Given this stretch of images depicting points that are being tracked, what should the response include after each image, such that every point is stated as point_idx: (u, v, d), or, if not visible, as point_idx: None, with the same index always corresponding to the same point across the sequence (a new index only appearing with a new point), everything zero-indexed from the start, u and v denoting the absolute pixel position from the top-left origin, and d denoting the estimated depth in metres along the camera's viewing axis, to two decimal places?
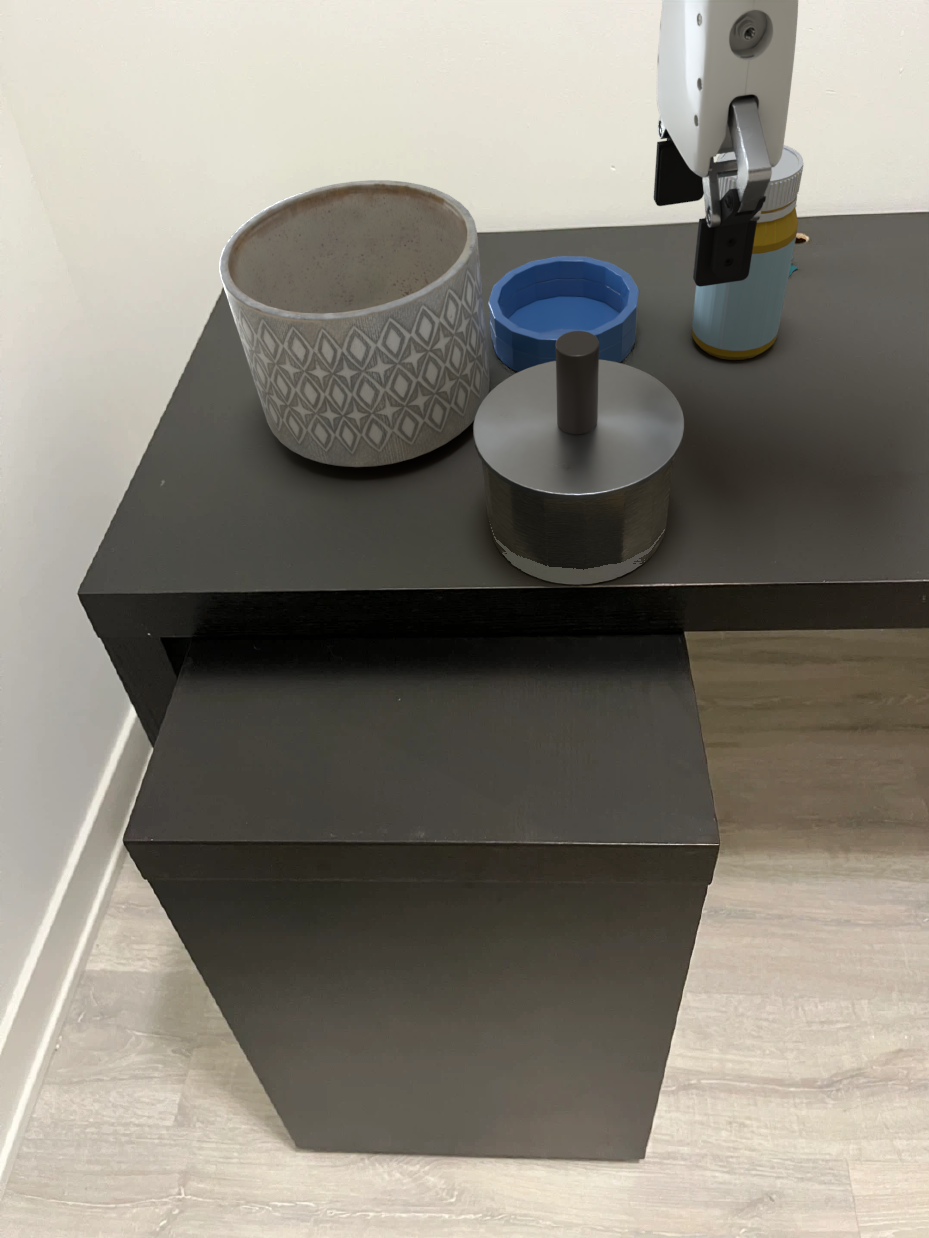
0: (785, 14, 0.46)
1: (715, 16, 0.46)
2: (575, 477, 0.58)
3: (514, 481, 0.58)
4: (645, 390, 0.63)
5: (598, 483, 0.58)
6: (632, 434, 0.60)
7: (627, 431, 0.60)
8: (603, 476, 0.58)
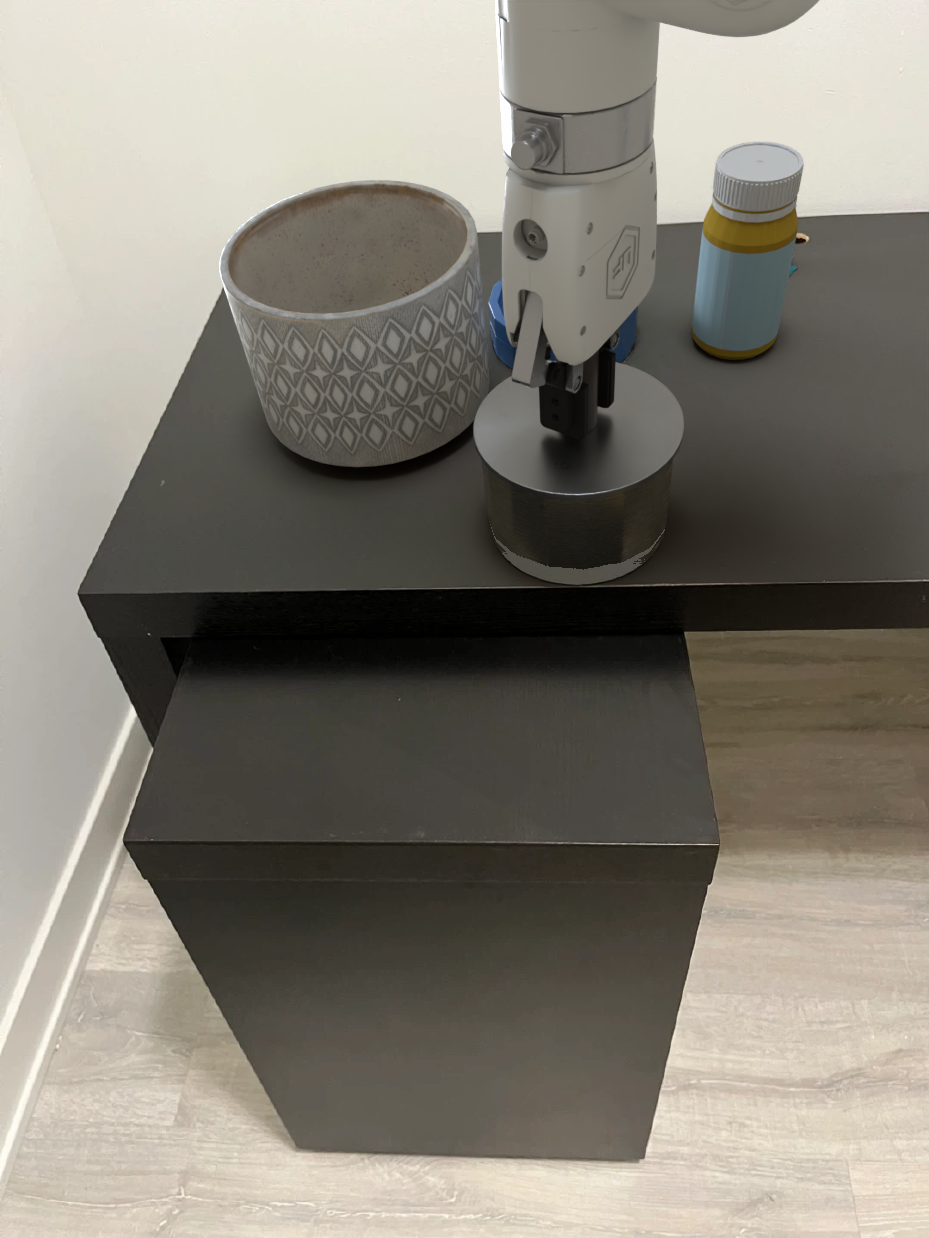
0: (559, 234, 0.46)
1: (505, 211, 0.48)
2: (575, 477, 0.58)
3: (514, 481, 0.58)
4: (645, 390, 0.63)
5: (598, 483, 0.58)
6: (632, 434, 0.60)
7: (627, 431, 0.60)
8: (603, 476, 0.58)
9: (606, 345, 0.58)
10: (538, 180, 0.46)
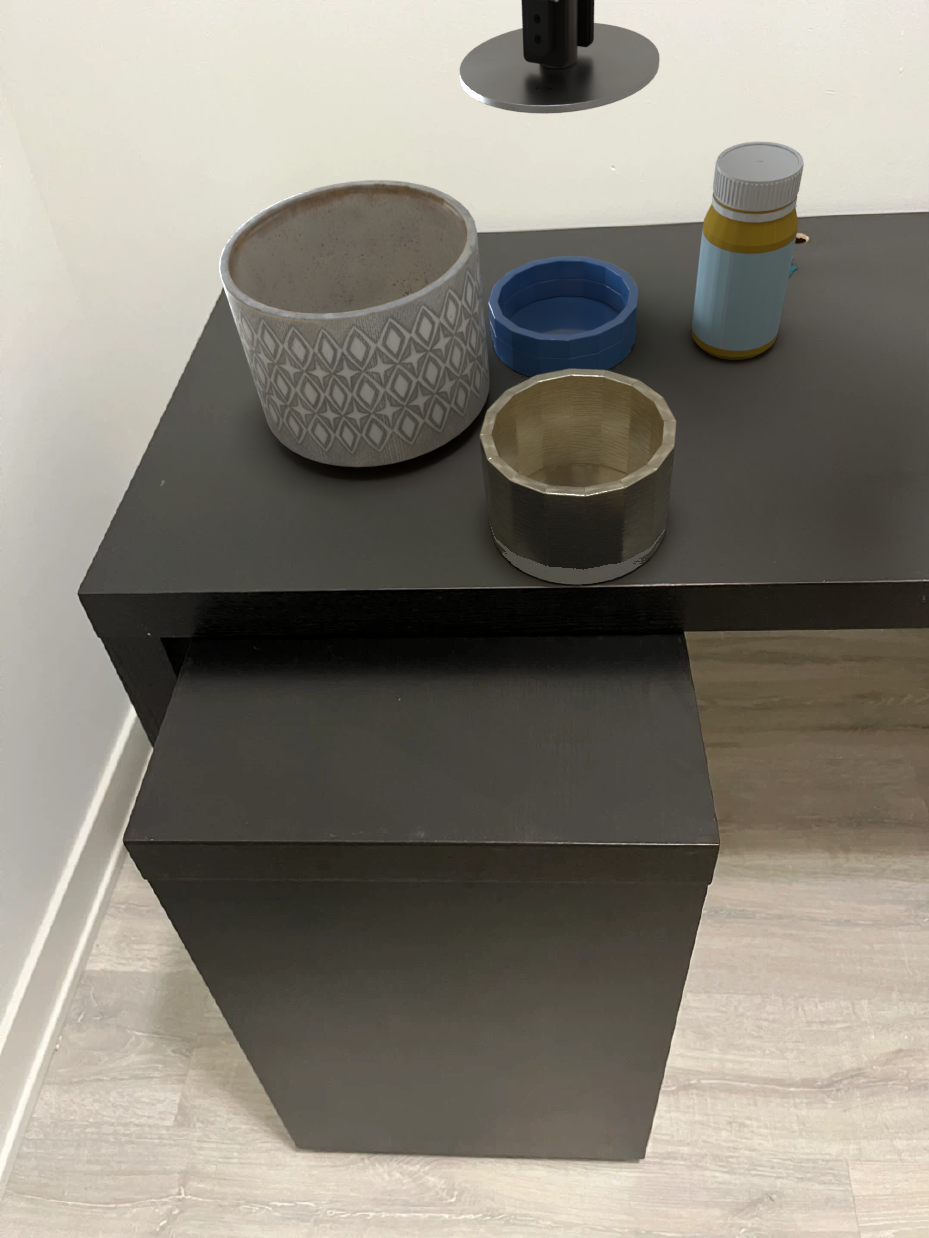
0: None
1: None
2: (556, 95, 0.61)
3: (498, 100, 0.62)
4: (623, 39, 0.66)
5: (577, 97, 0.61)
6: (610, 66, 0.63)
7: (605, 64, 0.64)
8: (582, 93, 0.61)
9: None
10: None
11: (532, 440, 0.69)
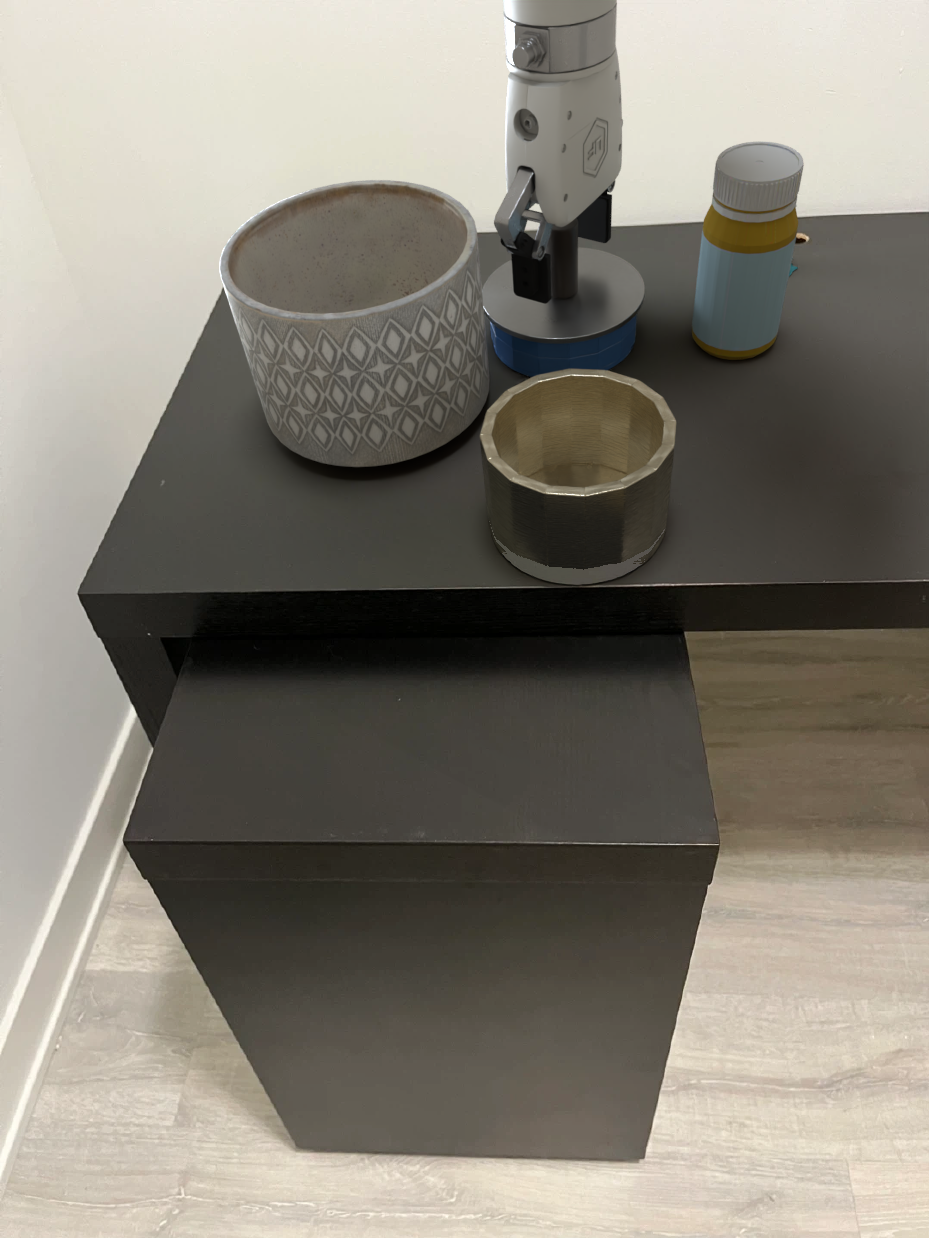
0: (547, 119, 0.64)
1: (507, 104, 0.65)
2: (560, 327, 0.76)
3: (513, 331, 0.76)
4: (615, 268, 0.80)
5: (577, 330, 0.75)
6: (604, 298, 0.78)
7: (600, 296, 0.78)
8: (581, 326, 0.76)
9: None
10: (531, 79, 0.64)
11: (532, 440, 0.69)
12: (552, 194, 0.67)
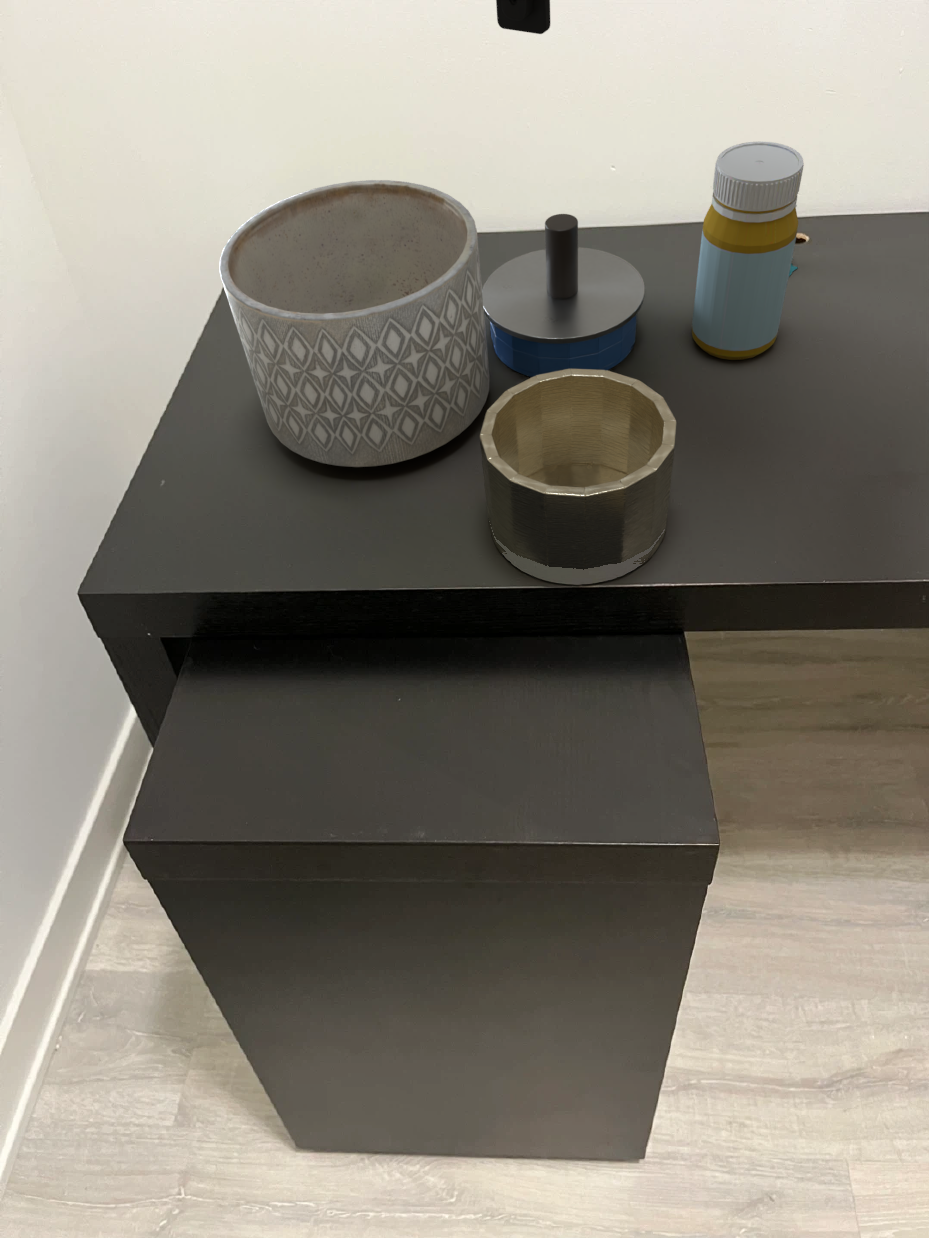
0: None
1: None
2: (560, 327, 0.76)
3: (513, 331, 0.76)
4: (615, 268, 0.80)
5: (577, 330, 0.75)
6: (604, 298, 0.78)
7: (600, 296, 0.78)
8: (581, 326, 0.76)
9: None
10: None
11: (532, 440, 0.69)
12: None
